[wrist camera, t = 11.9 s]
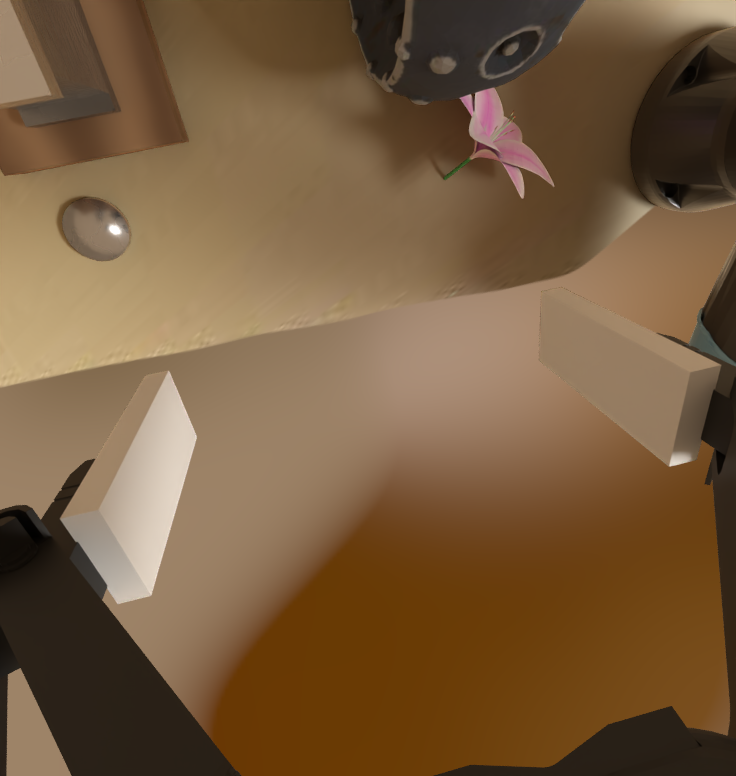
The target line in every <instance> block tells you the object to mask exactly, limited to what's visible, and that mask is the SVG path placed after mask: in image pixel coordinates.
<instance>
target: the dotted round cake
mask: <svg viewBox="0 0 736 776" xmlns="http://www.w3.org/2000/svg"><path fill="white" fill-rule="evenodd" d="M585 1H586V0H349V4H350V9H351V13H352V18H353V22H352V25H351V27H352V32H353V33H354V34H355V35H356V36H357V37H358V40H359V44H360V48H361V51H362V54H363V57H364V59H365V62H366V64H367V67H366V75H367V76H369V77H370V78H371V79H372V80H375V81H376V82H377V83H378V84H379V85H380V86H381V87H383V89H384V90H385V91H387V92H394V93H396V94H399V95H402V96H406V97H408V98H409V99H410V100H411V101H412V103H414V104H417V105H427V104H429V103H431V102H432V101H448V100H454V99H458V98H461V97H464V96H467V95H470V94H473V93H476V92H480V91H483V90H487V89H490V88H494V87H497V86H500V85H503V84H505V83H507V82H509V81H511V80H513V79H515V78H517V77H518V76H520V75H521V74H522V73H524V72H525V71H527V70H528V69H530V68H531V67H533V66H534V65H536V64H537V63H538V62H539V61H540V60H542V59H543V58H544V57H545V56H546V55H547V54H549V53H550V52H551V51H552V50H553V49H554V48H555V47H556V46H557V45H558V44H559V43H560V41H561V40H562V35H563V33H564V31H565V29H566V28H567V26H568V25H569V23H570V22H571V20H572V19H573V17H574V16H575V14H576V13H577V11H578V10H579V9H580V7H581V6H582V5H583V3H584V2H585Z"/></svg>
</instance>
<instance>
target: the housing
mask: <svg viewBox="0 0 736 776" xmlns="http://www.w3.org/2000/svg"><path fill="white" fill-rule="evenodd" d="M3 108H8V109H15V110H18V111H19V113H20V115H21V118H22V120H23V122H24V124H25V126H26V127H32V128H38V127H43V126H49V125H54V124H59V123H65V122H70V121H75V120H81V119H86V118H91V117H97V116H102V115H107V114H113V113H118V112H122V111H121V109H120V106H119V104H118V101H117V98H116V96H115V93H114V90H113V88H112V85H111V83H110V80H109V77H108V75H107V72H106V70H105V67H104V64H103V62H102V59H101V56H100V54H99V51H98V49H97V46H96V43H95V41H94V38H93V36H92V33H91V30H90V28H89V25H88V22H87V20H86V17H85V15H84V12H83V9H82V7H81V4H80V1H79V0H0V109H3Z"/></svg>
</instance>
